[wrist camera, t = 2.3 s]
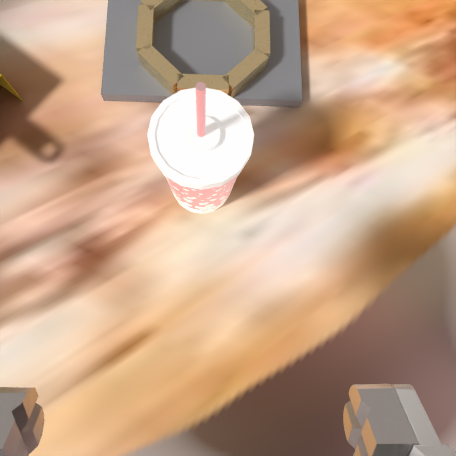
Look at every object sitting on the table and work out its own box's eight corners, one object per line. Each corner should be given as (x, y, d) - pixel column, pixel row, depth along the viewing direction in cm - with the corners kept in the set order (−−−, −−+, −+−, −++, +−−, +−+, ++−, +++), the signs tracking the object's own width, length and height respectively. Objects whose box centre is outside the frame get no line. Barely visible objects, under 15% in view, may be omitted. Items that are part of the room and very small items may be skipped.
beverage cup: (224, 234, 32) (239, 169, 18) (149, 206, 32) (109, 119, 18) (251, 165, 33) (285, 55, 20) (180, 137, 33) (164, 10, 20)
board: (104, 100, 34) (101, 93, 33) (111, -5, 36) (109, -14, 35) (299, 106, 34) (302, 100, 34) (295, 3, 37) (298, -5, 36)
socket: (136, 97, 33) (133, 86, 31) (143, -15, 35) (140, -30, 33) (268, 101, 33) (271, 91, 32) (265, -9, 36) (268, -24, 34)
